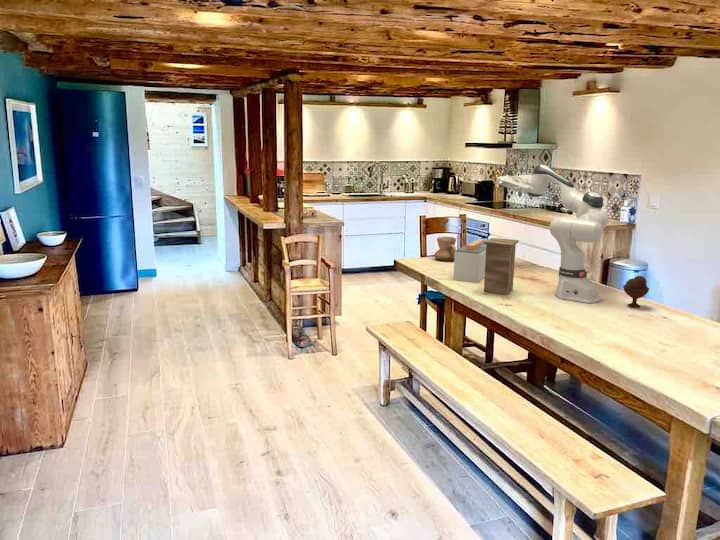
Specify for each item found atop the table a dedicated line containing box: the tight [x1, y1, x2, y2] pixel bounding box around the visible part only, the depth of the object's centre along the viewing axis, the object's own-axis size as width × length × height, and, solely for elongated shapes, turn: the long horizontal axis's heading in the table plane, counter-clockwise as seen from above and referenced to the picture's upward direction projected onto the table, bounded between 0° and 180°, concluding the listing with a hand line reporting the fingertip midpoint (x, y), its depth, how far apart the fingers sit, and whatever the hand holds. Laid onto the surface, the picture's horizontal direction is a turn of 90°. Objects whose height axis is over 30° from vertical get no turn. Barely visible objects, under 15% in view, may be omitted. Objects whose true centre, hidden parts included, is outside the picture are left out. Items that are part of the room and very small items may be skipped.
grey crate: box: [452, 244, 486, 283], centre depth 333 cm, size 18×14×16 cm
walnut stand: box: [483, 237, 519, 296], centre depth 305 cm, size 14×14×26 cm
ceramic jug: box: [434, 236, 457, 262], centre depth 380 cm, size 18×14×14 cm
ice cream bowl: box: [622, 275, 650, 309], centre depth 281 cm, size 11×11×15 cm
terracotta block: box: [465, 238, 486, 250], centre depth 338 cm, size 23×4×2 cm, turn 153°
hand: (506, 186), depth 338 cm, fingers open, 8 cm apart
